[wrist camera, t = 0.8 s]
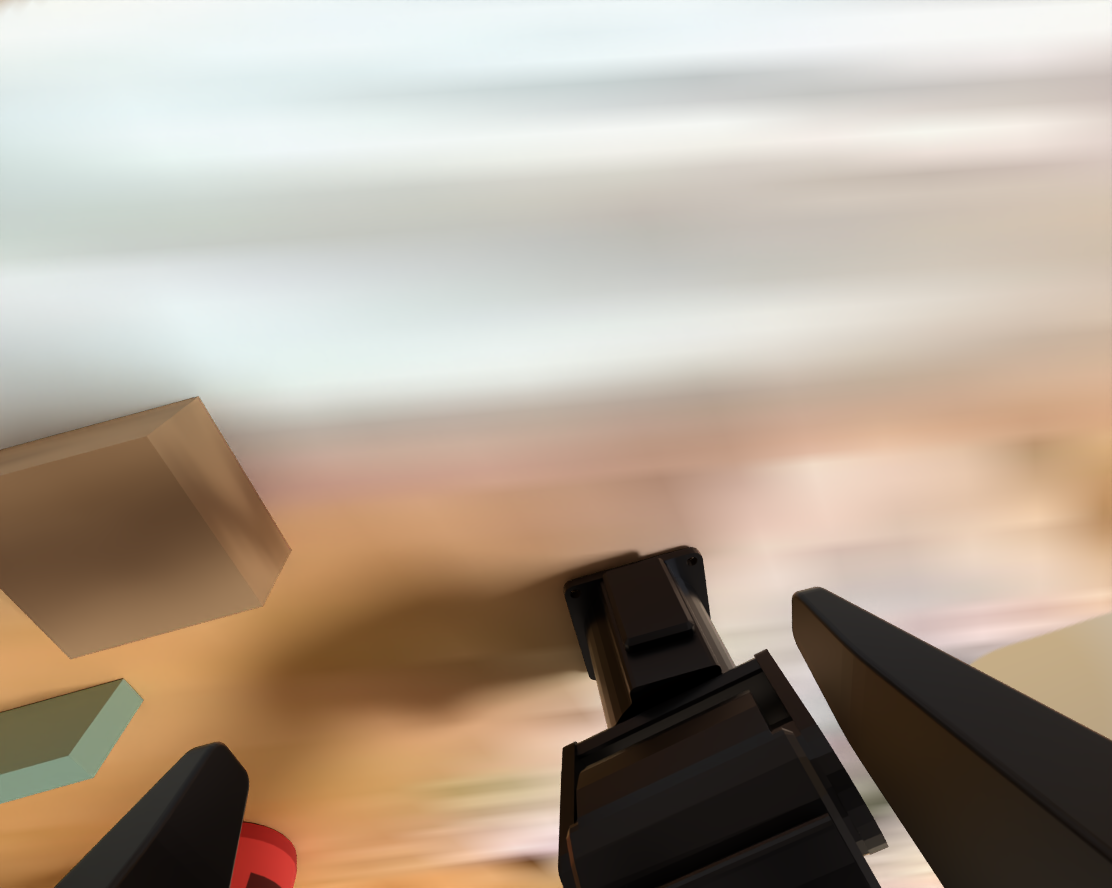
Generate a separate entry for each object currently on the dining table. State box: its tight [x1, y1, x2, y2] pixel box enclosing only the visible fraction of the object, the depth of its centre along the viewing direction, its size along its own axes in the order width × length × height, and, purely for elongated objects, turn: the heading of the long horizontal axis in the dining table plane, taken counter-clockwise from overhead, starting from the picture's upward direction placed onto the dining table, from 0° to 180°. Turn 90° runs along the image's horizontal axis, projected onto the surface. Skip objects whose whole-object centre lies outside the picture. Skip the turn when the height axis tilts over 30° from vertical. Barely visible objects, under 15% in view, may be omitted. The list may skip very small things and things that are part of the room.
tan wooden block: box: [0, 396, 291, 659], centre depth 18 cm, size 7×7×4 cm
